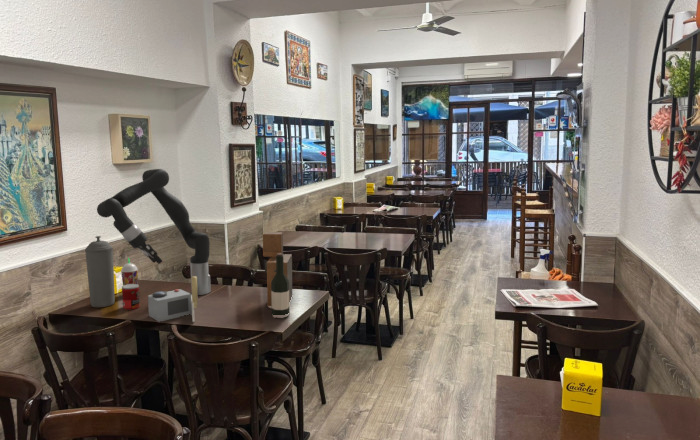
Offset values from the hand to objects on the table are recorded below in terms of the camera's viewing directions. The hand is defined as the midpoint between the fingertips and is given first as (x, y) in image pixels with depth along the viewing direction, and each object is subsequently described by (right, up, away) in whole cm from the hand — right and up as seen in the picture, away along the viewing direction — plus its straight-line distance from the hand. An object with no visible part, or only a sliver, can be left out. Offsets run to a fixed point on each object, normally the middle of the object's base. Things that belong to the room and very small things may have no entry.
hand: (158, 262), depth 242 cm
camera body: (+4, -26, +5) cm, 26 cm away
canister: (-35, -23, +20) cm, 47 cm away
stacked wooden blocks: (+53, -23, +26) cm, 63 cm away
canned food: (-19, -24, +16) cm, 35 cm away
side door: (+17, -26, +1) cm, 31 cm away
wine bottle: (+56, -26, +5) cm, 62 cm away
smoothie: (-28, -21, +38) cm, 52 cm away
